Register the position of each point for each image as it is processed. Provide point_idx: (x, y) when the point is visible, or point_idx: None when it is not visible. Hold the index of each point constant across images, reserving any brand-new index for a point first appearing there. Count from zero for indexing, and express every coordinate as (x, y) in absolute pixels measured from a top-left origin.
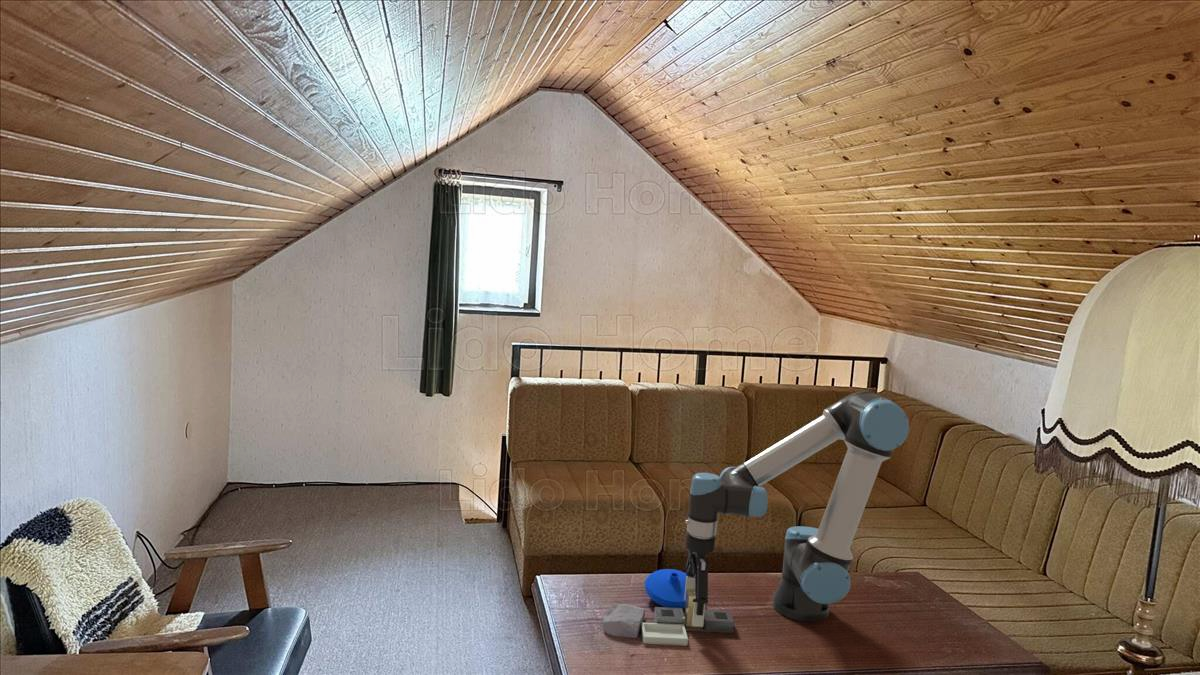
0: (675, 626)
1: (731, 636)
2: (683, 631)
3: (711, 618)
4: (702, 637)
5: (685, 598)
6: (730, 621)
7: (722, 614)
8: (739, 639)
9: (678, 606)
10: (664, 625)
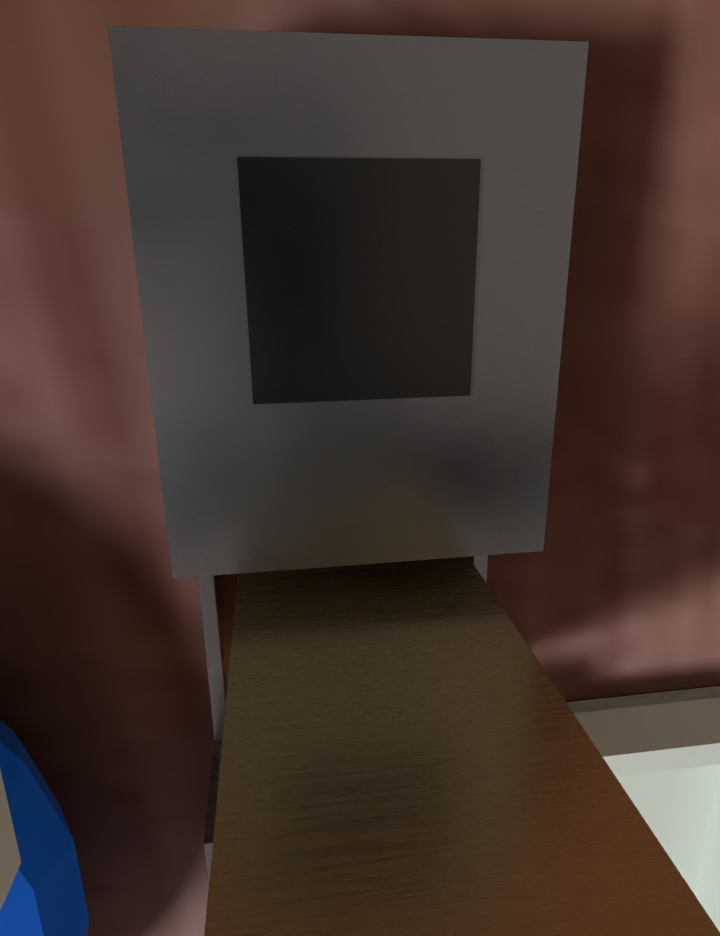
0: None
1: (592, 150)
2: (653, 770)
3: (475, 464)
4: (605, 531)
5: (5, 891)
6: (568, 125)
7: (321, 239)
8: (672, 39)
9: (74, 844)
10: None
